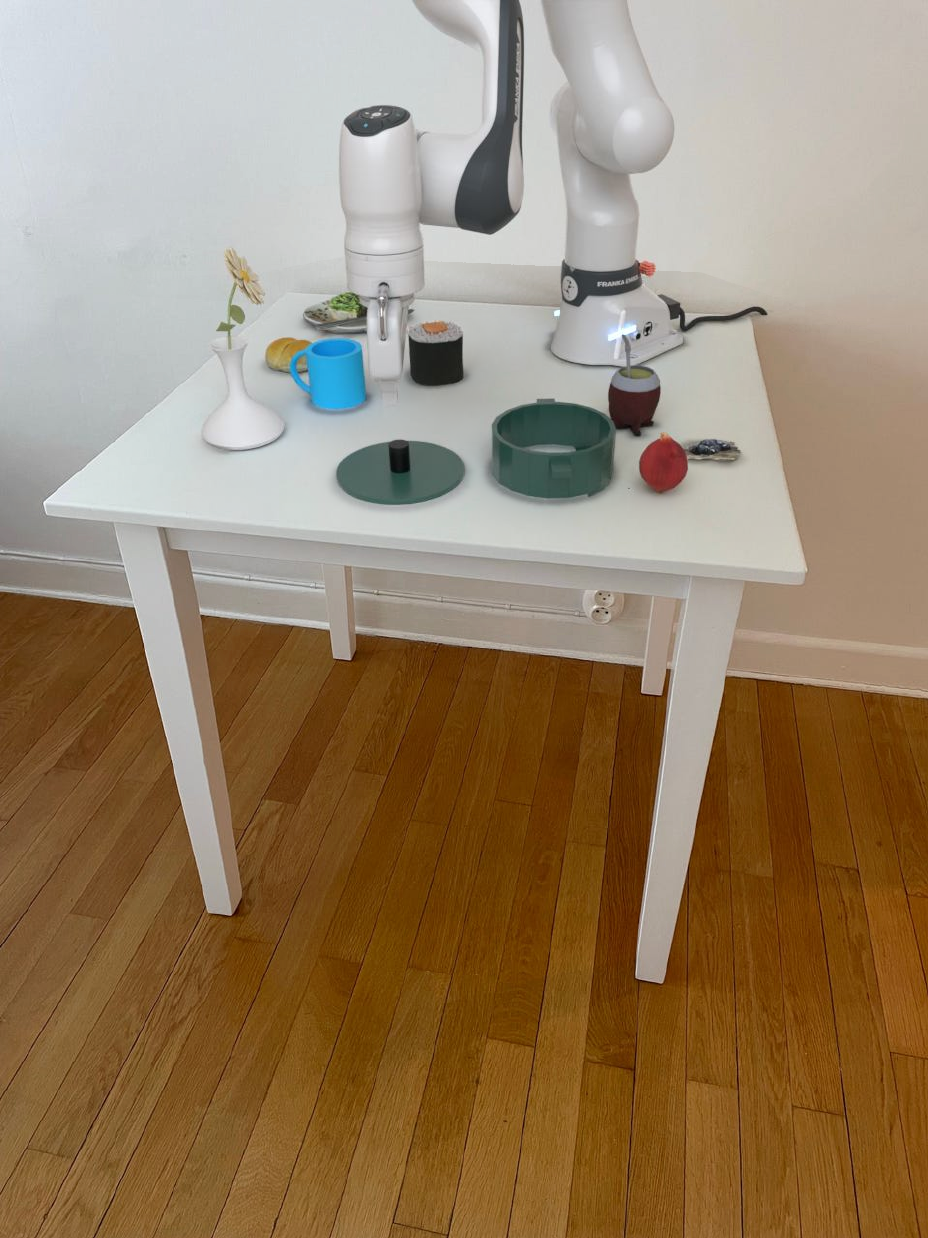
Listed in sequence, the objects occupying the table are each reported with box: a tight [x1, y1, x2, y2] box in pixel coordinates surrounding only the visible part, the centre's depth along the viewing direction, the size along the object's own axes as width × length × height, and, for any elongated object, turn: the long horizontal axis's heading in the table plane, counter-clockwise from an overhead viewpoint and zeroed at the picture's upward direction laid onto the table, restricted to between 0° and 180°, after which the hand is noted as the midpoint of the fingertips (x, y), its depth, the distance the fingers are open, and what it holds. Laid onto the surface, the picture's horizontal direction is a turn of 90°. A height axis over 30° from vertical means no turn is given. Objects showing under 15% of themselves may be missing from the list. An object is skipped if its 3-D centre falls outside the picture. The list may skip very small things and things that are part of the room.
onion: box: [638, 431, 689, 494], centre depth 116 cm, size 6×6×8 cm
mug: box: [289, 337, 367, 410], centre depth 140 cm, size 12×8×8 cm
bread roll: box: [264, 337, 313, 373], centre depth 153 cm, size 8×9×4 cm
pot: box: [491, 397, 617, 499], centre depth 121 cm, size 15×21×6 cm
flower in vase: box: [200, 246, 286, 451], centre depth 126 cm, size 13×11×25 cm
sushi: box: [406, 320, 464, 387], centre depth 147 cm, size 8×8×8 cm
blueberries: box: [682, 438, 742, 463], centre depth 125 cm, size 7×8×2 cm
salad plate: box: [302, 291, 415, 334], centre depth 169 cm, size 19×18×5 cm
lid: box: [335, 439, 465, 505], centre depth 121 cm, size 16×16×5 cm
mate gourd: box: [607, 334, 662, 437], centre depth 128 cm, size 8×8×15 cm
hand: (392, 387), depth 115 cm, fingers open, 8 cm apart
